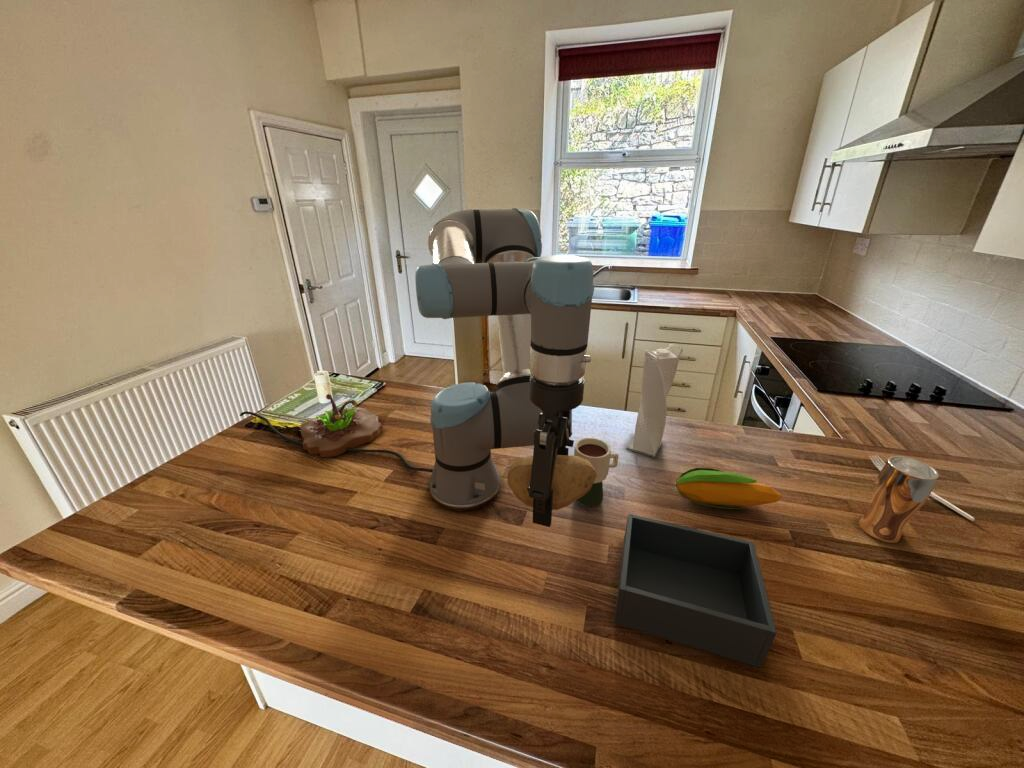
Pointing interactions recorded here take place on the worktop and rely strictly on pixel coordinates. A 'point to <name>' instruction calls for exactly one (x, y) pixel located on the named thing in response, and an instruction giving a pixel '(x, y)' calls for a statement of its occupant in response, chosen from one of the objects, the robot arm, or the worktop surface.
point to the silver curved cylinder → (897, 497)
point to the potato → (554, 479)
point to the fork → (930, 494)
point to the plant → (339, 430)
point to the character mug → (595, 466)
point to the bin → (694, 590)
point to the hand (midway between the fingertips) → (550, 499)
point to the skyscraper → (654, 400)
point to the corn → (724, 489)
